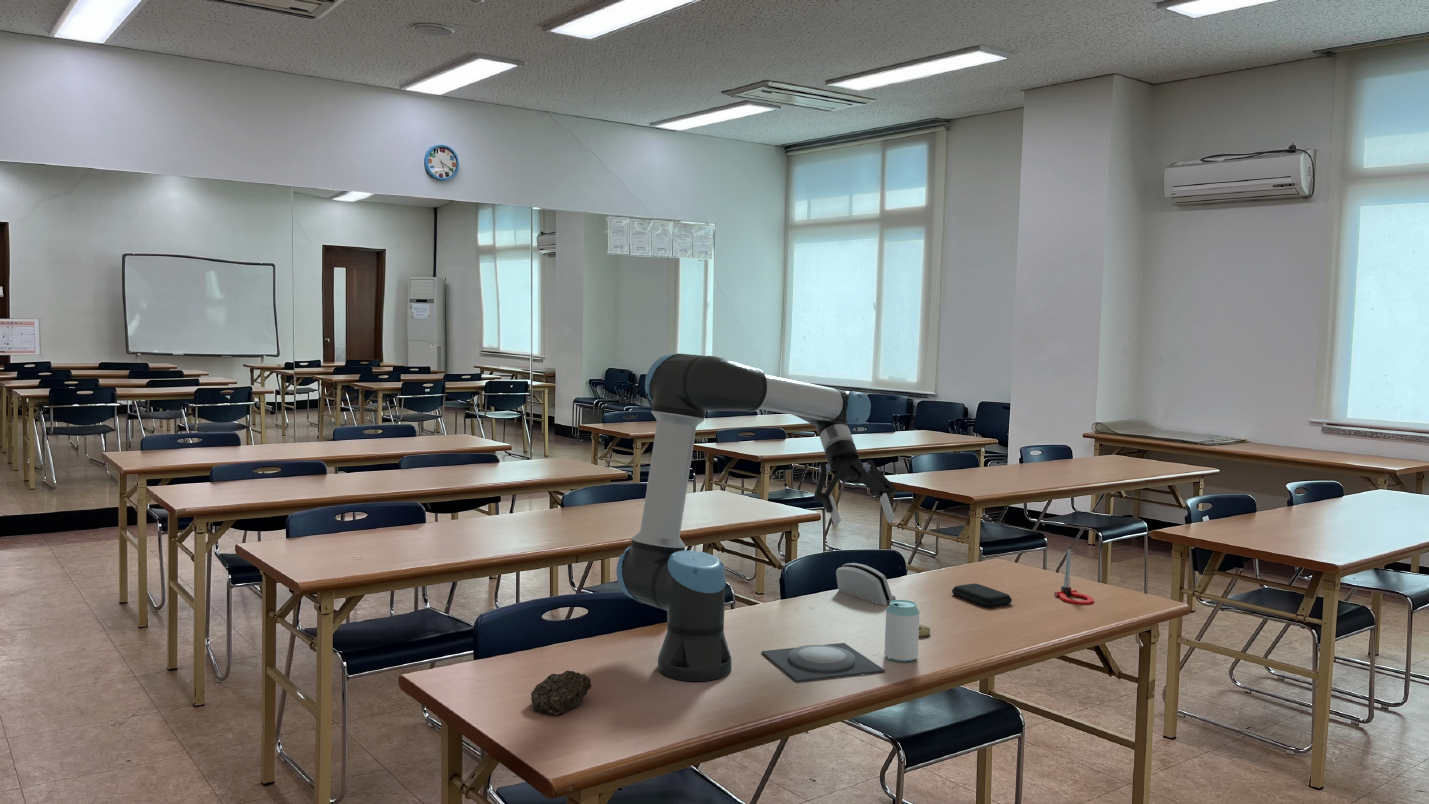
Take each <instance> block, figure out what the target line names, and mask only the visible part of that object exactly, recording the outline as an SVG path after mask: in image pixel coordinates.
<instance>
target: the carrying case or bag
mask: <svg viewBox="0 0 1429 804" xmlns="http://www.w3.org/2000/svg"><path fill="white" fill-rule="evenodd" d="M951 594H953V596H955V597H956V598H958V597H959V599H961V598H962V600H964V601H967V602H969V603H972V604H975V605H977V606H980V607H982V606H983V608H986V609H987V608H988V609H992V608H997V607H998V606H999V607H1004V606H1009V605H1010V604H1011V603H1012V602H1013V599H1012V597H1011V596H1010V595H1009V594H1008V593H1005V592H1003V591H1001V590H997V589H994V588H992V587H988V586H986V585H983V584H980V583H968V584H961V585H955V586H954V587H953V588H952V589H951Z"/></svg>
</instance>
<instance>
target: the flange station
mask: <svg viewBox="0 0 1429 804" xmlns="http://www.w3.org/2000/svg"><path fill="white" fill-rule="evenodd" d="M760 653H761V655H763V656H764V657H765V658H766V657H767V658H766V659H768V661H770V662H771V661H772V662H773V663H772V662H771V663H772V664H774V666H776V665H777V666H778V667H779V668H778V667H777V666H776V667H777V668H778V669H780V670H781V671H782V670H783V671H782V672H783V673H784V674H785V675H787V676H788V677H789V678H790V679H792V680H793V681H794V682H795V681H796V682H795V683H802V681H804V682H811V680H813V681H820V679H822V680H827V679H826V678H830V679H835V678H836V679H837V677H839V678H848V677H855V676H856V675H857V676H862V675H861V674H866V675H873V673H874V674H881V673H882V674H883V673H885V672H886V670H885V669H884V668H882V667H881V666H880V665H878V663H877V664H876V663H875V662H874V661H872V660H871V659H870V658H867V656H864V654H862V653H860V652H859V651H858V650H856V649H854V648H853V647H851V646H850V645H849V644H847V643H845V642H840V643H829V644H828V643H827V644H807V645H800V646H797V647H790V648H789V647H788V648H779V649H777V648H776V649H770V650H761V652H760ZM847 676H848V677H847ZM857 676H856V677H857Z"/></svg>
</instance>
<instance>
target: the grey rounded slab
mask: <svg viewBox="0 0 1429 804" xmlns="http://www.w3.org/2000/svg"><path fill="white" fill-rule="evenodd" d="M835 575H836V584H837V590H838V592H839V591H841V592H840V593H843V594H846V593H847V594H846V595H849V594H850V595H849V596H852V595H853V596H852V597H855V596H857V597H856V598H858V597H860V598H859V599H861V598H864V599H866V600H865V601H868V600H870V601H869V602H871V601H873V602H872V603H874V602H877V603H879V604H878V605H880V604H882V605H881V606H883V605H885V606H887V605H888V602H890V601H893V600H897V599H896V598H897V597H896V596H895V595H893V594H892V591H891V589H890V586H889V582H888V579H887V577H886V575H885V574H883V573H881V572H880V571H879V570H877V569H875V568H873V567H870V566H869V565H866V564H863V563H857V562H850V563H845V564H842V565H841V566H840V567H838V568H837V569H836V571H835ZM864 599H863V600H864ZM877 603H876V604H877ZM886 604H887V605H886Z"/></svg>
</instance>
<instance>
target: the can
mask: <svg viewBox="0 0 1429 804" xmlns="http://www.w3.org/2000/svg"><path fill="white" fill-rule="evenodd" d="M917 606H918V604H917V603H916V602H915V601H912V600H907V599H906V600H905V599H896V600H893V601H889V605H888V606H887V607H886V610H885V629H884V630H885V631H884V632H885V633H884V635H885V636H884V655H885V656H886V657H887V658H888V657H889V658H890V659H889V658H888V659H889V660H891V661H893V660H894V662H898V661H904V662H903V663H908V662H907V661H910V662H913V661H914V660H916V659H917V658H918V656H919V639H920V638H919V624H920V610H919V608H918V607H917ZM912 660H913V661H912Z"/></svg>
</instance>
